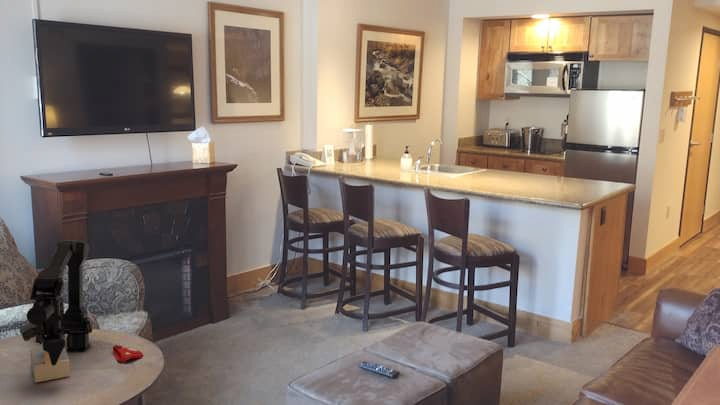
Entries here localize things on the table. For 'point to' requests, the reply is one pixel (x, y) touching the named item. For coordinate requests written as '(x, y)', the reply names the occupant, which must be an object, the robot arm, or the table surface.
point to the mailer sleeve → (43, 357)
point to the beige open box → (51, 369)
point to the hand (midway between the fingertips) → (52, 359)
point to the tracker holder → (125, 353)
